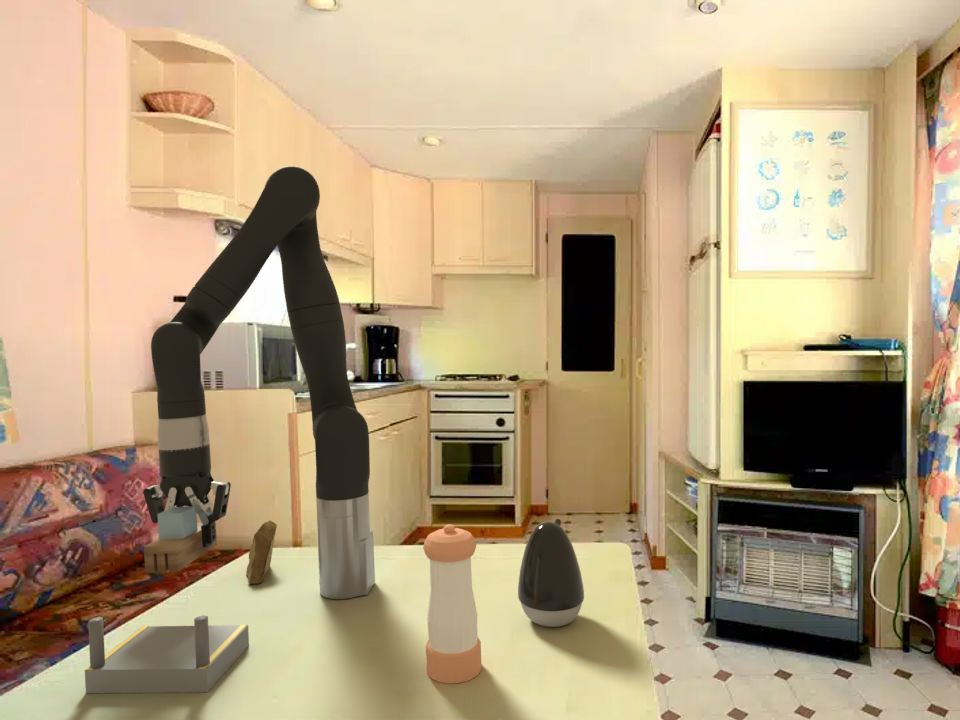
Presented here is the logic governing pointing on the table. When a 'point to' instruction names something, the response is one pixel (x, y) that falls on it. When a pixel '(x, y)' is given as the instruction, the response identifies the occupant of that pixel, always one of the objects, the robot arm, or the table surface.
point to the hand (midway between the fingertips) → (191, 546)
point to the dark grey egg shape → (550, 577)
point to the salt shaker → (451, 607)
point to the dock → (164, 658)
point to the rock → (261, 552)
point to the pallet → (174, 552)
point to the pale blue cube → (177, 523)
